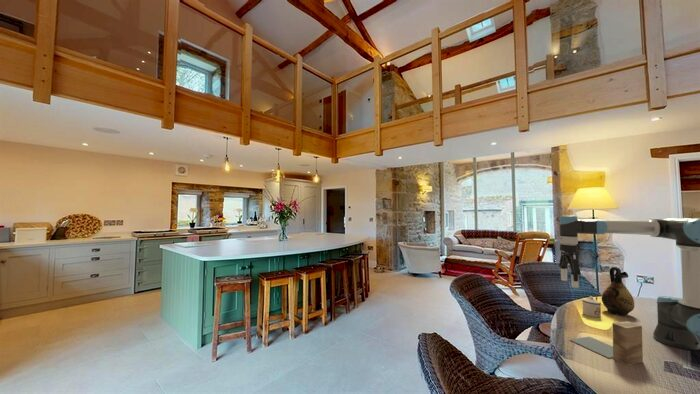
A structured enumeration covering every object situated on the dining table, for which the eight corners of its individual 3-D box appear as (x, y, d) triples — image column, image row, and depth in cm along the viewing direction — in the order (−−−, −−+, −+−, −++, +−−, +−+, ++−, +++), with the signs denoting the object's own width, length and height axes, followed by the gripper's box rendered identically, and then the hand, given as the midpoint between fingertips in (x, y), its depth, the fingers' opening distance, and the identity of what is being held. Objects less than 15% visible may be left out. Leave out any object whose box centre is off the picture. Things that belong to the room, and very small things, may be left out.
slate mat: (630, 354, 124) (630, 353, 124) (608, 358, 121) (608, 357, 121) (589, 337, 141) (589, 336, 141) (569, 340, 137) (569, 339, 137)
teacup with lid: (598, 318, 166) (597, 300, 166) (579, 313, 173) (579, 295, 174) (605, 315, 172) (604, 297, 172) (587, 310, 179) (586, 293, 180)
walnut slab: (642, 362, 118) (641, 325, 119) (627, 365, 116) (626, 328, 117) (628, 356, 123) (627, 321, 124) (613, 358, 121) (612, 323, 121)
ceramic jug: (642, 319, 166) (640, 271, 167) (613, 316, 169) (612, 269, 170) (620, 309, 183) (619, 265, 184) (594, 307, 186) (593, 264, 187)
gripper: (551, 241, 156) (552, 277, 155) (570, 246, 133) (570, 289, 132) (567, 241, 154) (568, 278, 153) (588, 247, 130) (589, 291, 130)
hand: (569, 283), depth 142 cm, fingers open, 13 cm apart
